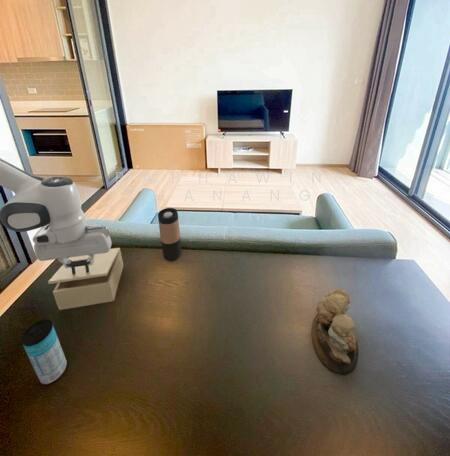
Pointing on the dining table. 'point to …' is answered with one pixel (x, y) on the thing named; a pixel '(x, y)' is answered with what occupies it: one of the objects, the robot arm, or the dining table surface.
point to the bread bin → (89, 288)
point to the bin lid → (86, 267)
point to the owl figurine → (335, 333)
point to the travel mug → (170, 233)
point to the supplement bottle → (44, 351)
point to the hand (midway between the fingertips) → (80, 265)
